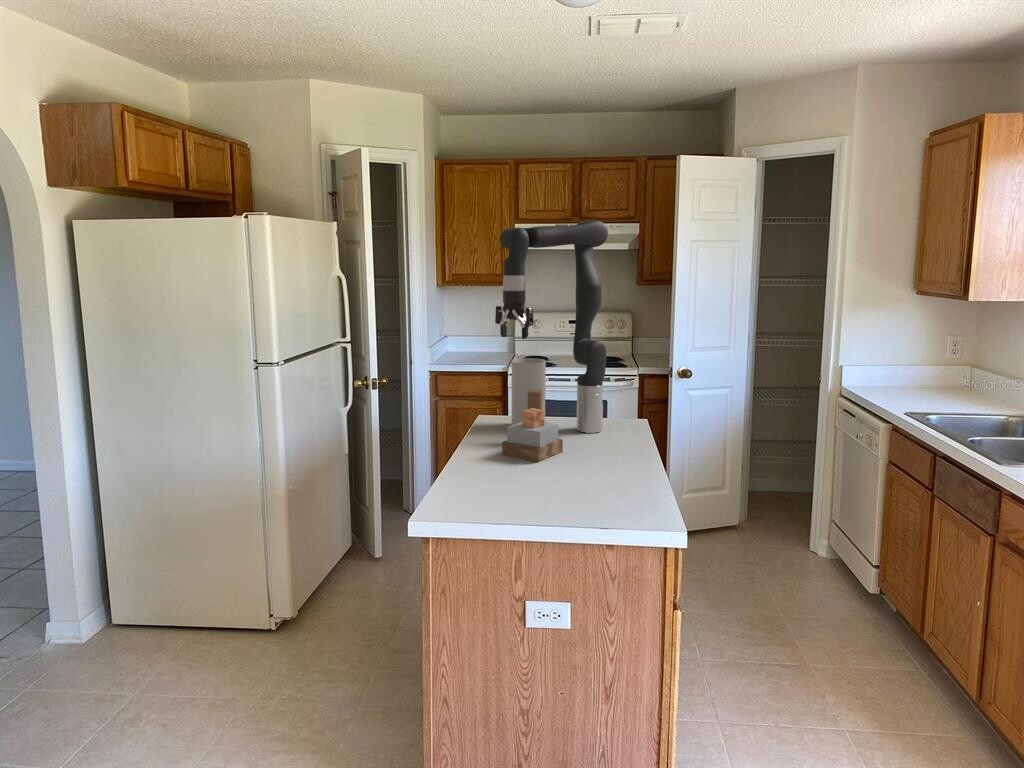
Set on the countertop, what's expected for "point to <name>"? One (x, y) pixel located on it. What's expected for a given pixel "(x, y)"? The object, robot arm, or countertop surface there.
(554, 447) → the tower base block
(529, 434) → the tower top block
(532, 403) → the wooden block
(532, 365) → the cylinder vase
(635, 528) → the countertop surface
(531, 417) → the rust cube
